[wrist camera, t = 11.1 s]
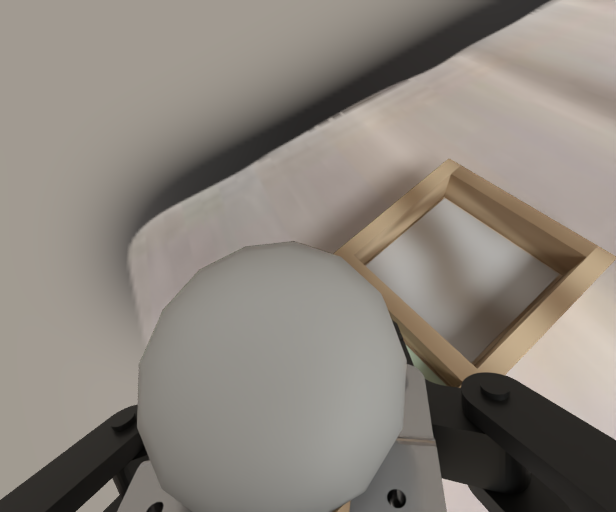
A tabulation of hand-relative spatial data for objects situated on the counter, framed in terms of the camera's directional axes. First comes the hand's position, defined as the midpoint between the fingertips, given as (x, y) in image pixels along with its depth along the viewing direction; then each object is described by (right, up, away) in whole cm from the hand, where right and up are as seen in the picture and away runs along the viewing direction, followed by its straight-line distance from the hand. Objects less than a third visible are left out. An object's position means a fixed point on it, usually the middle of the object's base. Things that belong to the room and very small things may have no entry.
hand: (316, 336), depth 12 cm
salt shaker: (+1, -4, +4) cm, 6 cm away
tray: (+6, -2, +9) cm, 11 cm away
